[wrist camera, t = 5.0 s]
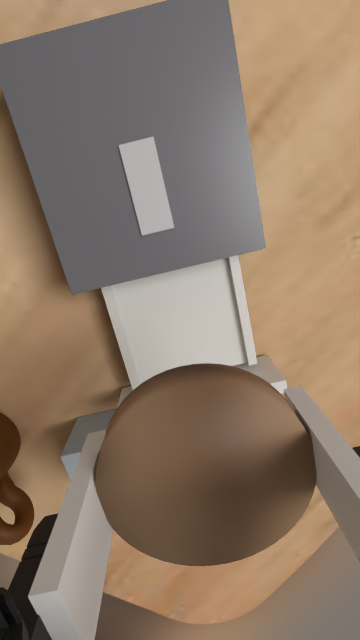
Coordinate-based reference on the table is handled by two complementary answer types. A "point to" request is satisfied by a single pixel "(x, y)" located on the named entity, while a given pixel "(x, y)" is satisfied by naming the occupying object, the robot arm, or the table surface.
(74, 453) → the block
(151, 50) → the housing
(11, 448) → the mug
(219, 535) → the coaster
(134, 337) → the tray
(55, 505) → the table surface
